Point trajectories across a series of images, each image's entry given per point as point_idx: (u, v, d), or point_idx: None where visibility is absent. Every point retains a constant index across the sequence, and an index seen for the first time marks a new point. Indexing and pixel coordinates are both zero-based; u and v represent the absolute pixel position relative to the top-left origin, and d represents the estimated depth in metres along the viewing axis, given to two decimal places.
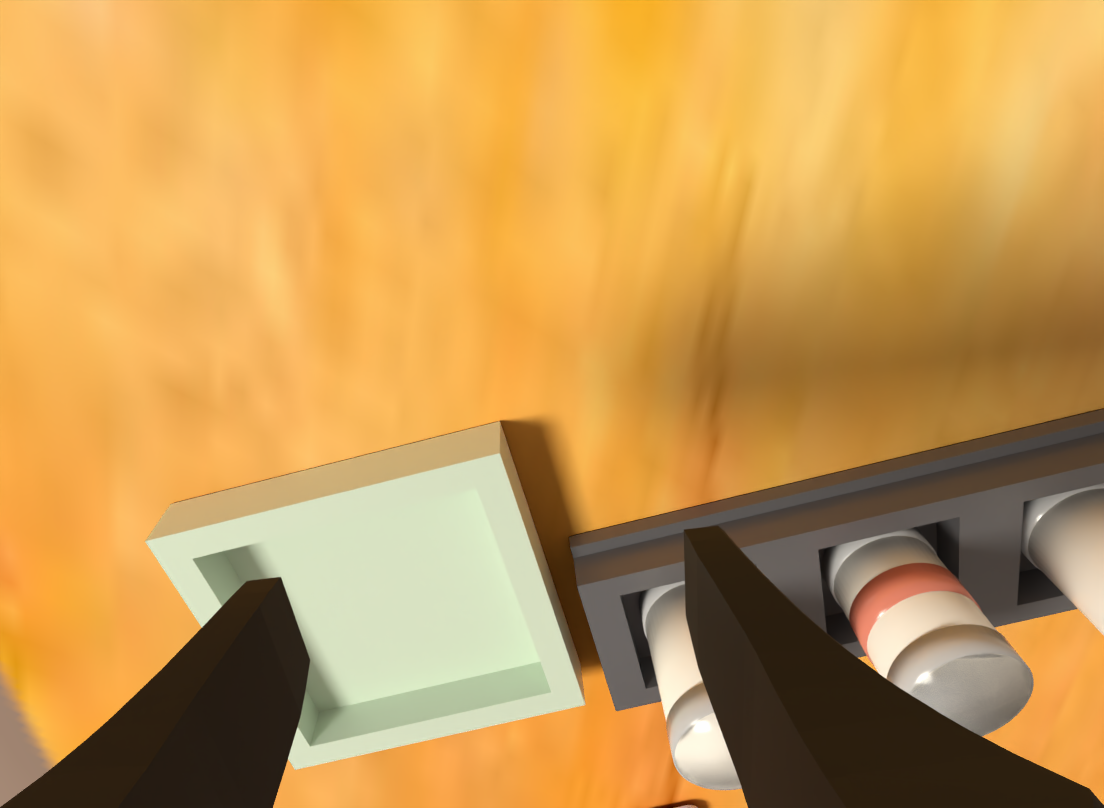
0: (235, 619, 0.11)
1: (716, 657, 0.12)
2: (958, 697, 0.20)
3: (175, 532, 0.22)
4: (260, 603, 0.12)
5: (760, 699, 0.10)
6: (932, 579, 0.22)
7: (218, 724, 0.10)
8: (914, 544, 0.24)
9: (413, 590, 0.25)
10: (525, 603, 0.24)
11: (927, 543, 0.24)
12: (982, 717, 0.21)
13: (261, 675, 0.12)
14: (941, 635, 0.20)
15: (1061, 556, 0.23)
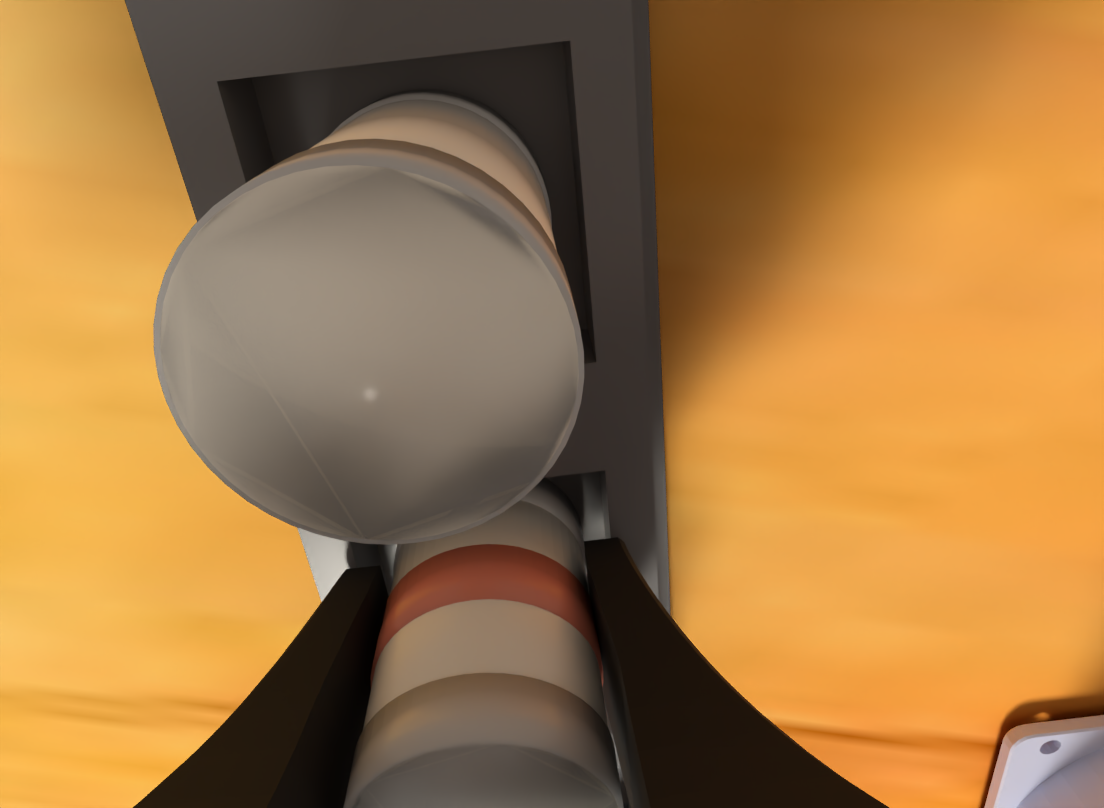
0: (346, 606, 0.11)
1: (606, 670, 0.12)
2: None
3: None
4: (367, 590, 0.12)
5: (626, 715, 0.10)
6: None
7: (341, 710, 0.10)
8: (397, 563, 0.13)
9: None
10: None
11: None
12: (552, 807, 0.09)
13: (370, 662, 0.12)
14: None
15: None
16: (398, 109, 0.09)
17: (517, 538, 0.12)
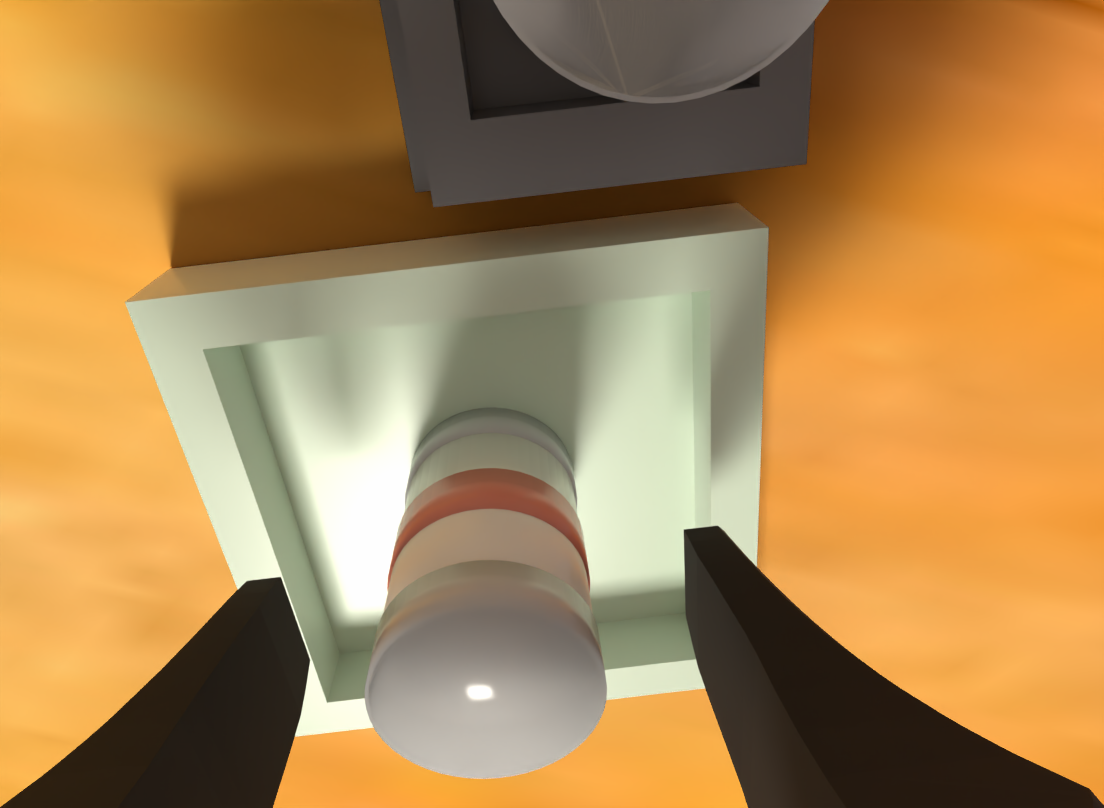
0: (235, 619, 0.11)
1: (716, 657, 0.12)
2: (478, 711, 0.11)
3: None
4: (260, 603, 0.12)
5: (760, 699, 0.10)
6: None
7: (218, 724, 0.10)
8: (410, 489, 0.15)
9: None
10: (469, 306, 0.13)
11: (433, 449, 0.15)
12: (546, 672, 0.11)
13: (261, 675, 0.12)
14: None
15: None
16: None
17: (519, 465, 0.14)
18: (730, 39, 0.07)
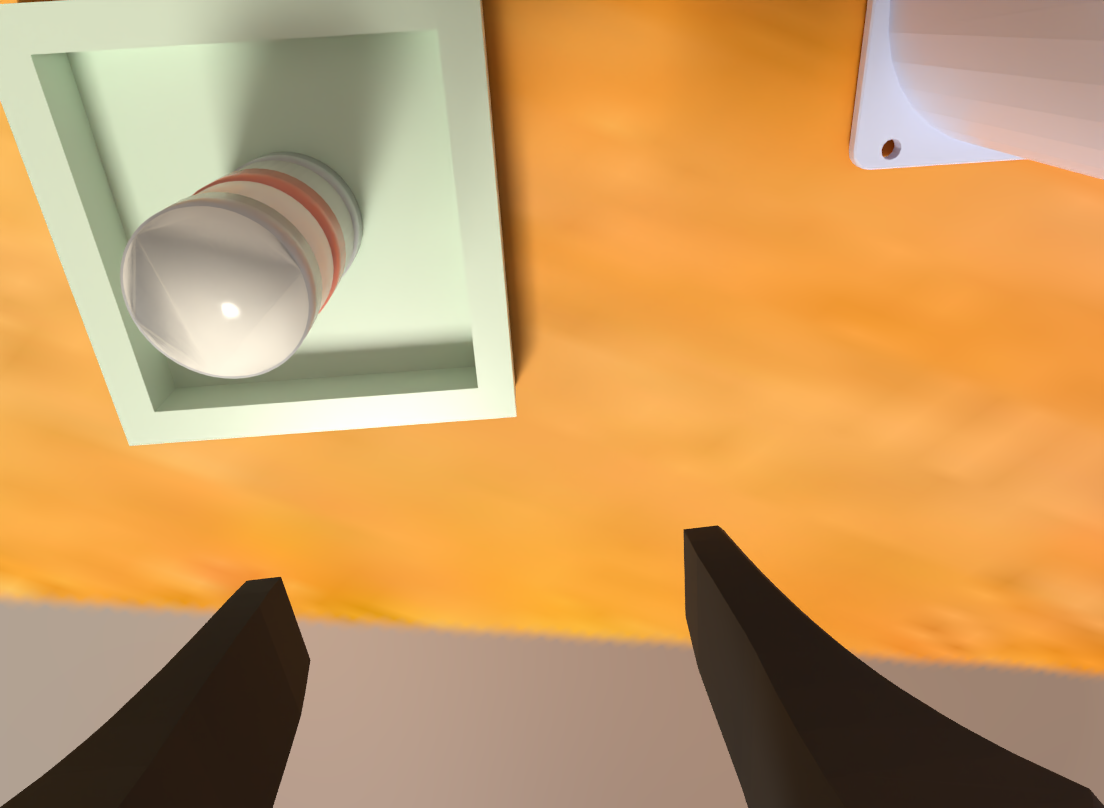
0: (235, 619, 0.11)
1: (716, 657, 0.12)
2: (212, 308, 0.15)
3: (120, 416, 0.21)
4: (260, 603, 0.12)
5: (760, 699, 0.10)
6: None
7: (218, 724, 0.10)
8: None
9: None
10: (244, 30, 0.16)
11: None
12: (260, 273, 0.14)
13: (261, 675, 0.12)
14: None
15: None
16: None
17: (289, 173, 0.17)
18: None
